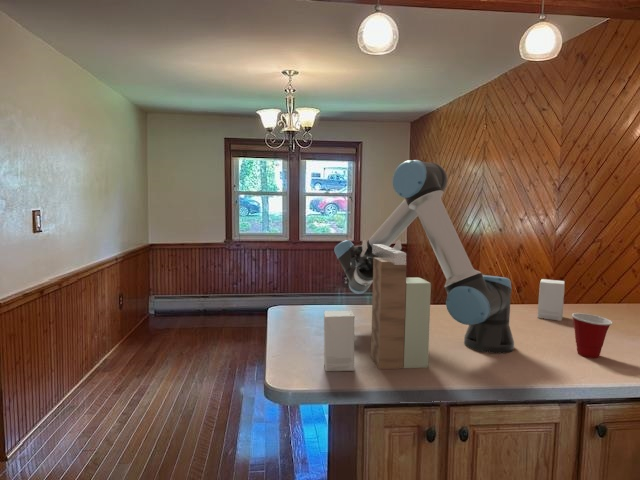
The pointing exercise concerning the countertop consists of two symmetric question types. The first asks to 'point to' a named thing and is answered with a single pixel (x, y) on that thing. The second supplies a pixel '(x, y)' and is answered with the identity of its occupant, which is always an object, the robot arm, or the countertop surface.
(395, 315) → the block
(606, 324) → the plastic cup
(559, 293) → the supplement box
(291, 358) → the countertop surface
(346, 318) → the skincare box
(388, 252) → the grey bar
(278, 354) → the countertop surface
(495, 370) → the countertop surface
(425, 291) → the sage dock
